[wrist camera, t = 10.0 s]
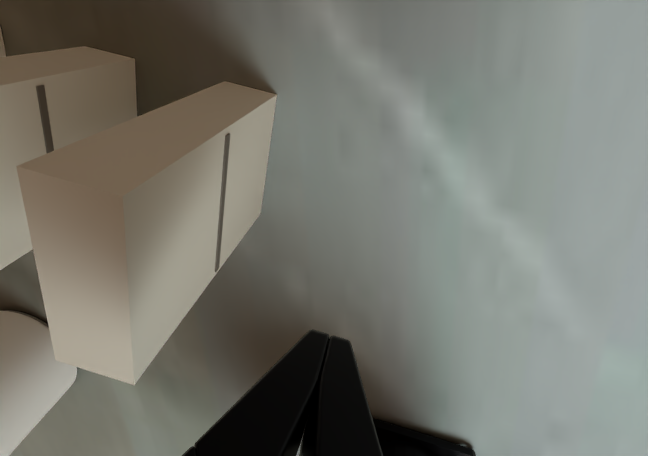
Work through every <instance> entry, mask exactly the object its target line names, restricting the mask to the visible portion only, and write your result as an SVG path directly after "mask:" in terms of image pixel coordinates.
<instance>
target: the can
mask: <svg viewBox="0 0 648 456" xmlns="http://www.w3.org/2000/svg"><path fill="white" fill-rule="evenodd" d="M76 376H77V367H75V366H72V365H69V364H66V363H63V362H59V361H56V360H55V355H54V350H53V345H52V341H51V336H50V331H49V326H48V324H47V323H45V322H44V321H42V320H40V319H38V318H36V317H34V316H32V315H29V314H27V313H23V312H19V311H12V310H6V311H0V456H9V455H10V454H11V453H12V452H13V450H14V449H15V448H16V447H17V446H18V445H19V444H20V443H21V441H22V440H23V439H24V438H25V437H26V436H27V435H28V434H29V433H30V431H31V430H32V429H33V428H34V427H35V426H36V425H37V424H38V423H39V421H40V420H41V419H42V418H43V417H44V416H45V415H46V414H47V412H48V411H49V410H50V409H51V408H52V407H53V406H54V405H55V403H56V402H57V401H58V400H59V399H60V398H61V397H62V396H63V394H64V393H65V392H66V391H67V390H68V389H69V388H70V386H71V385H72V384H73V383H74V381H75V379H76Z"/></svg>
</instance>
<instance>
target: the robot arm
mask: <svg viewBox="0 0 648 456" xmlns="http://www.w3.org/2000/svg"><path fill="white" fill-rule="evenodd" d="M306 422H307V423H306ZM305 426H306V427H305ZM304 429H305V430H304ZM303 433H304V434H303ZM302 436H303V439H302ZM301 439H302V443H301ZM300 443H301V448H300V454H299V456H476V454H475V451H474V450H472V449H470V448H467V447H464V446H461V445H458V444H454V443H451V442H448V441H445V440H441V439H438V438H435V437H432V436H428V435H425V434H422V433H419V432H415V431H412V430H409V429H405V428H402V427H399V426H396V425H392V424H389V423H386V422H383V421H379V420H376V419H373V418H372V416H371V412H370V409H369V405H368V402H367V398H366V395H365V391H364V388H363V384H362V381H361V377H360V374H359V370H358V367H357V363H356V360H355V356H354V353H353V349H352V346H351V343H350V341H349V340H347V339H343V338H340V337H336V336H331V337H330V339H329V335H328V334H326V333H323V332H319V331H316V330H310V331H309V332H307V333H306V334H305V335H304V336H303V337H302V338H301V339H300V340H299V341H298V342H297V343H296V344H295V345H294V346H293V347H292V348H291V349H290V350H289V351H288V352H287V353H286V354H285V355H284V356H283V357H282V358H281V359H280V360H279V361H278V362H277V363H276V364H275V365H274V366H273V367H272V368H271V369H270V370H269V371H268V372H267V373H266V374H265V375H264V376H263V377H262V378H261V379H260V380H259V381H258V382H257V383H256V384H255V385H254V386H253V387H252V388H251V389H250V390H248V391H247V392H246V393H245V394H244V395H243V396H242V397H241V398H240V399H239V400H238V401H237V402H236V403H235V404H234V405H233V406H232V407H231V408H230V409H229V410H228V411H227V412H226V413H225V414H224V415H223V416H222V417H221V418H220V419H219V420H218V421H217V422H216V423H215V424H214V425H213V426H212V427H211V428H210V429H209V430H208V431H207V432H206V433H205V434H204V435H203V436H202V437H201V438H200V439H199V440H198V441H197V442H196V443H195V447H193V446H192V447H190V448H189V449H188V450H187V451H186V452H185V453H184V454H183V455H182V456H296V454H297V451H298V448H299V446H300Z"/></svg>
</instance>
